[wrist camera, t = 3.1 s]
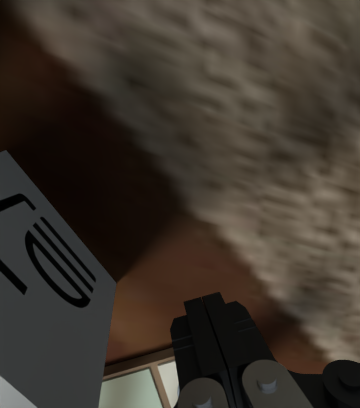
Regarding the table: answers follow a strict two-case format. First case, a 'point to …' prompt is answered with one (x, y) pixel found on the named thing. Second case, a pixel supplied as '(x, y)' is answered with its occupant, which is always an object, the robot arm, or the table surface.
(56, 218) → the icon cube
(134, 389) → the board
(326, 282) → the table surface
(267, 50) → the table surface
